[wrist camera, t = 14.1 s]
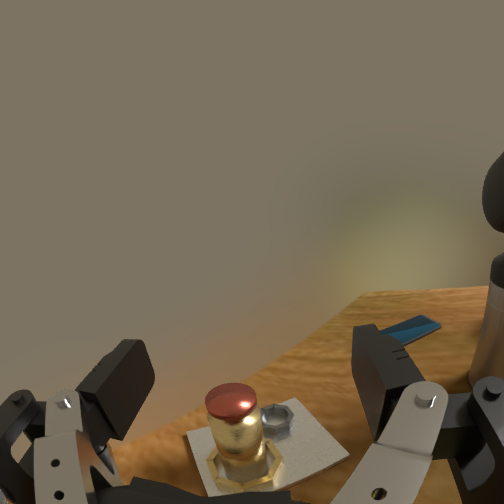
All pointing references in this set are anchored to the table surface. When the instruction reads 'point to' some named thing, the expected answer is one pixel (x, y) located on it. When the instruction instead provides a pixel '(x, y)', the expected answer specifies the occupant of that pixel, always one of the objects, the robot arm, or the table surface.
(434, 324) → the smartphone
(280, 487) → the fitting plate
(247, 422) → the brass valve
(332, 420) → the table surface
